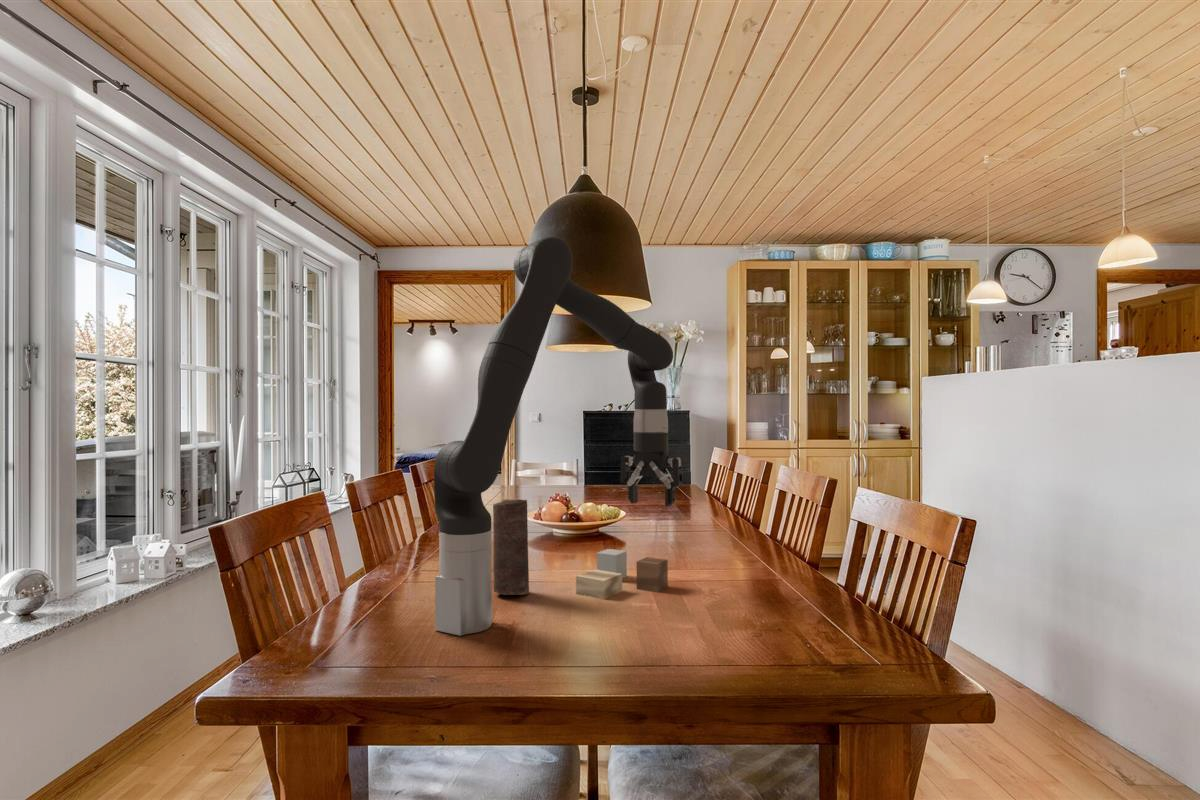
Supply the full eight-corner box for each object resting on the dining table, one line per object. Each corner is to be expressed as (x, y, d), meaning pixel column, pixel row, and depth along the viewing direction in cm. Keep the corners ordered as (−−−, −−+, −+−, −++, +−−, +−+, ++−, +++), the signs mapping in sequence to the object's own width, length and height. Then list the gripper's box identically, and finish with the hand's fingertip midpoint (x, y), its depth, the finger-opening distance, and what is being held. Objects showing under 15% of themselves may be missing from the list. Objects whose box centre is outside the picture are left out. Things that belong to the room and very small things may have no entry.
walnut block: (657, 592, 141) (657, 564, 141) (636, 589, 143) (636, 561, 144) (667, 587, 145) (667, 559, 145) (647, 584, 148) (647, 557, 148)
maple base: (603, 600, 136) (603, 580, 136) (576, 595, 140) (576, 576, 140) (622, 592, 142) (622, 573, 142) (595, 587, 146) (595, 569, 146)
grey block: (615, 581, 150) (615, 555, 150) (597, 579, 152) (596, 552, 152) (626, 577, 154) (626, 551, 154) (608, 574, 157) (608, 548, 157)
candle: (510, 602, 134) (510, 503, 134) (485, 596, 139) (485, 500, 139) (536, 593, 140) (535, 498, 140) (511, 588, 145) (511, 496, 145)
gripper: (613, 430, 145) (614, 504, 145) (673, 431, 138) (673, 509, 138) (630, 429, 152) (630, 500, 152) (687, 430, 144) (688, 504, 144)
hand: (651, 504), depth 145 cm, fingers open, 8 cm apart
